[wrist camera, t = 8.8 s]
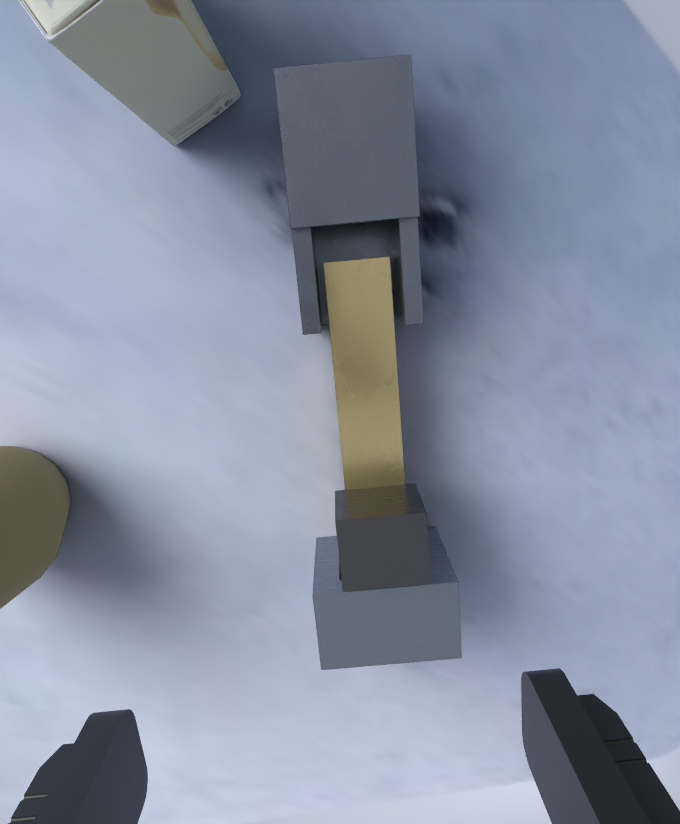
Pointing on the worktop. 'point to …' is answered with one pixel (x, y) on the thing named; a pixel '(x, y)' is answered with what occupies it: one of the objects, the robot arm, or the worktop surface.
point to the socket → (385, 614)
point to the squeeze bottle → (29, 518)
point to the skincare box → (144, 57)
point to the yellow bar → (372, 435)
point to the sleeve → (351, 176)
